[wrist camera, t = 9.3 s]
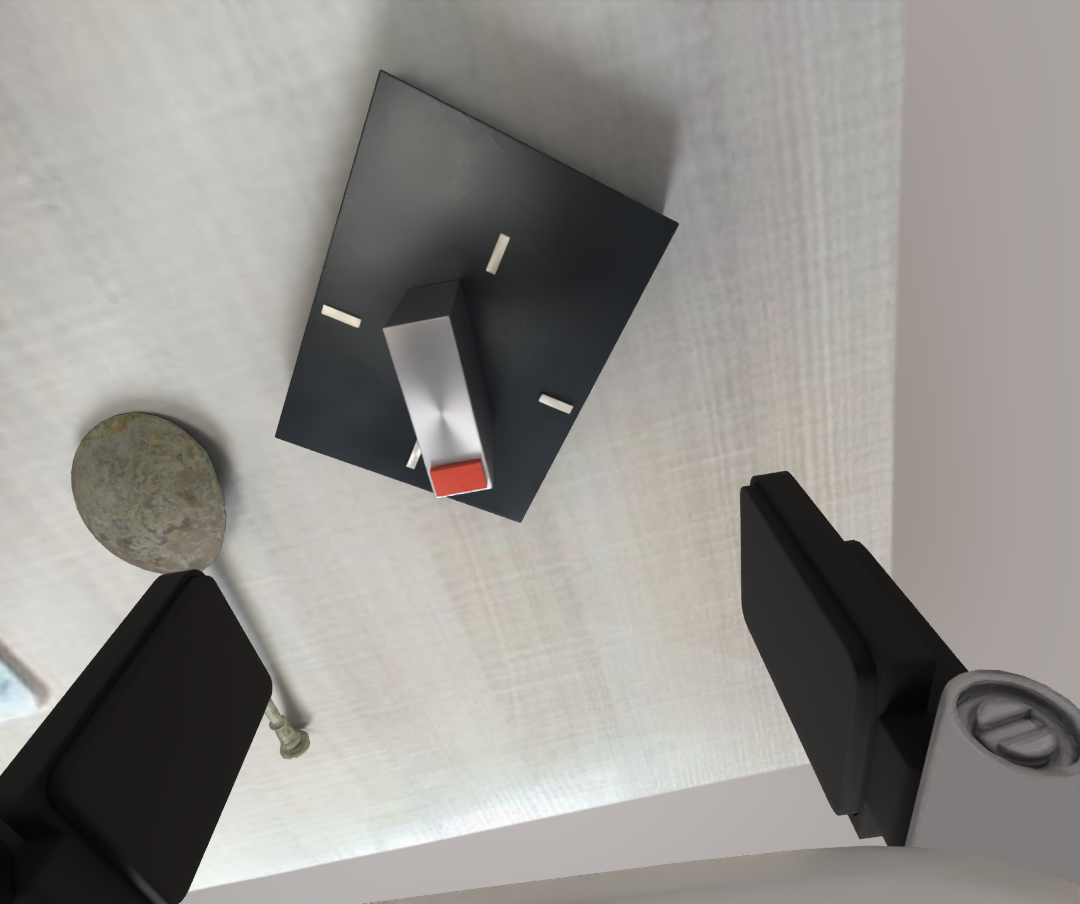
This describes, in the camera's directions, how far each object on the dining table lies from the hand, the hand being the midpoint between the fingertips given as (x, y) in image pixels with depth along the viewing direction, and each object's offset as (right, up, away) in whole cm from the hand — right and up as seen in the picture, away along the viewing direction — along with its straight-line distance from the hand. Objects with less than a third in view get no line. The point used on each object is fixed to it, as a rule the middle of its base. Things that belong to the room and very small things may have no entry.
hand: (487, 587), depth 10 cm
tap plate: (-2, +8, +14) cm, 17 cm away
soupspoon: (-16, -5, +21) cm, 27 cm away
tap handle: (-2, +6, +13) cm, 14 cm away
